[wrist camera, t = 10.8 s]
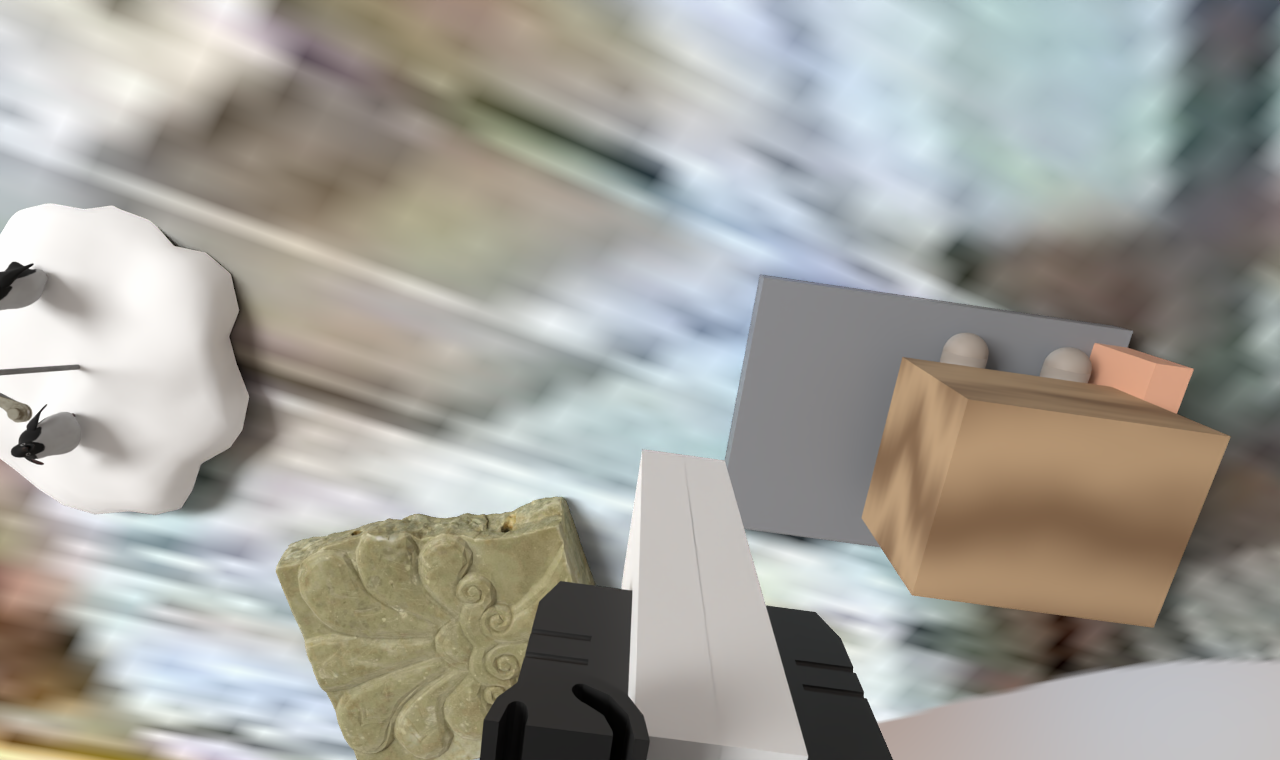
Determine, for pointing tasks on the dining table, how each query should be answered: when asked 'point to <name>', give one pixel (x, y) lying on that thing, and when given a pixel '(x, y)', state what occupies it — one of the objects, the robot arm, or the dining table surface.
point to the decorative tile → (426, 620)
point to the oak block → (1036, 487)
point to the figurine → (113, 359)
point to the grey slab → (876, 390)
